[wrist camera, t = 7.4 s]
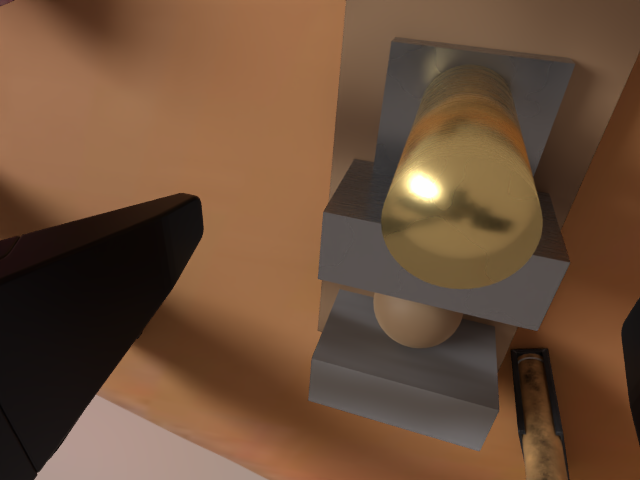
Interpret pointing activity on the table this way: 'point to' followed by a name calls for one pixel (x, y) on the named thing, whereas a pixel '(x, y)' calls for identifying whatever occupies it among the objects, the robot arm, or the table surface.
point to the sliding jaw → (455, 186)
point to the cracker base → (550, 177)
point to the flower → (5, 2)
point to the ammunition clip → (538, 416)
